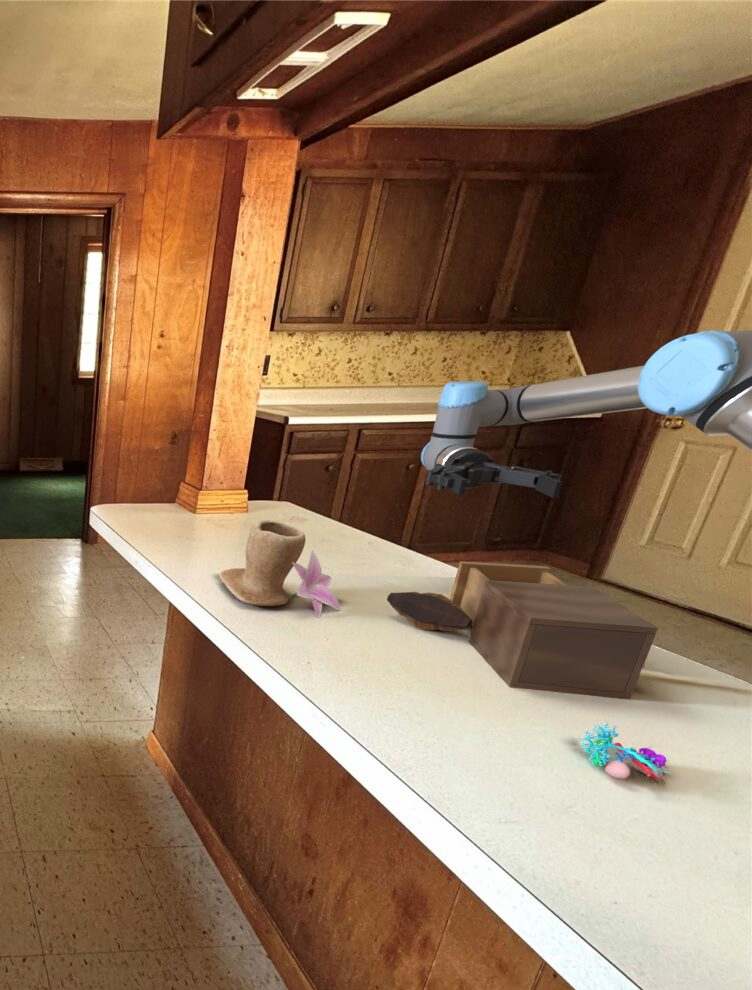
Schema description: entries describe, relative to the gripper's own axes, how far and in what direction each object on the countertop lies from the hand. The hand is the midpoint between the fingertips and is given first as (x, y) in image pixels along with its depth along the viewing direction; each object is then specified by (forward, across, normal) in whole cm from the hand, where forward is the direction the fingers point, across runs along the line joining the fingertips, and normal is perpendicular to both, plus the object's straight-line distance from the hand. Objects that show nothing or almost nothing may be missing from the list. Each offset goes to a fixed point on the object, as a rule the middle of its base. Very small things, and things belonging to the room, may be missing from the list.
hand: (509, 488), depth 114 cm
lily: (+9, +29, -22) cm, 38 cm away
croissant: (+14, +13, -18) cm, 26 cm away
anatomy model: (+54, +3, -22) cm, 58 cm away
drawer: (+9, 0, -21) cm, 23 cm away
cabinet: (+26, 0, -22) cm, 34 cm away
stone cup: (+4, +38, -22) cm, 44 cm away
